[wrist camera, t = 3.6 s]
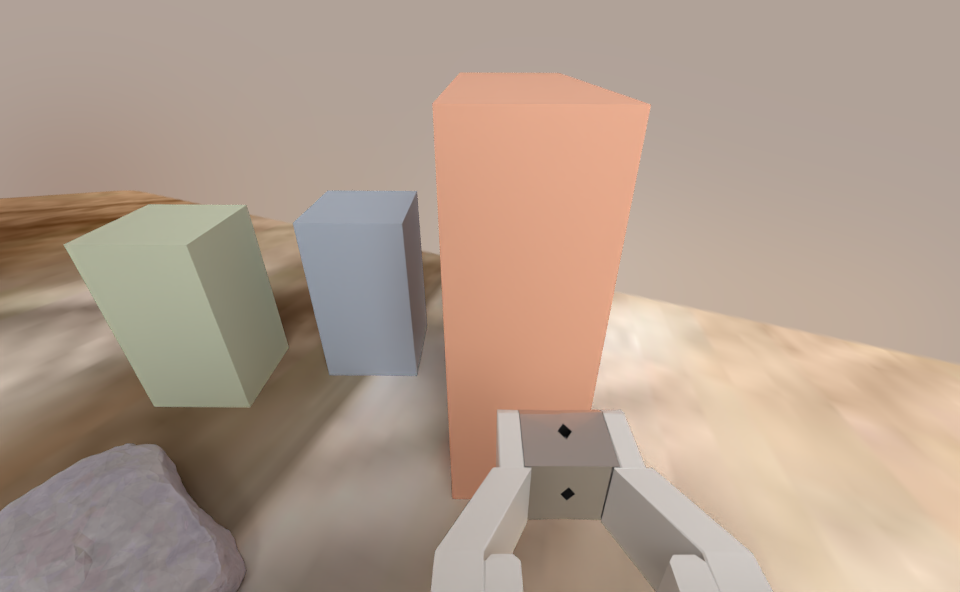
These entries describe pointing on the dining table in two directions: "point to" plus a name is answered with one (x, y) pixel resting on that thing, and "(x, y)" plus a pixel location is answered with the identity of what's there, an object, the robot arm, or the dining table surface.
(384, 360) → the slate-blue block
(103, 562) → the stone block
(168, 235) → the sage-green block
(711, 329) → the dining table surface
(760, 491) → the dining table surface
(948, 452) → the dining table surface
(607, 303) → the terracotta block
